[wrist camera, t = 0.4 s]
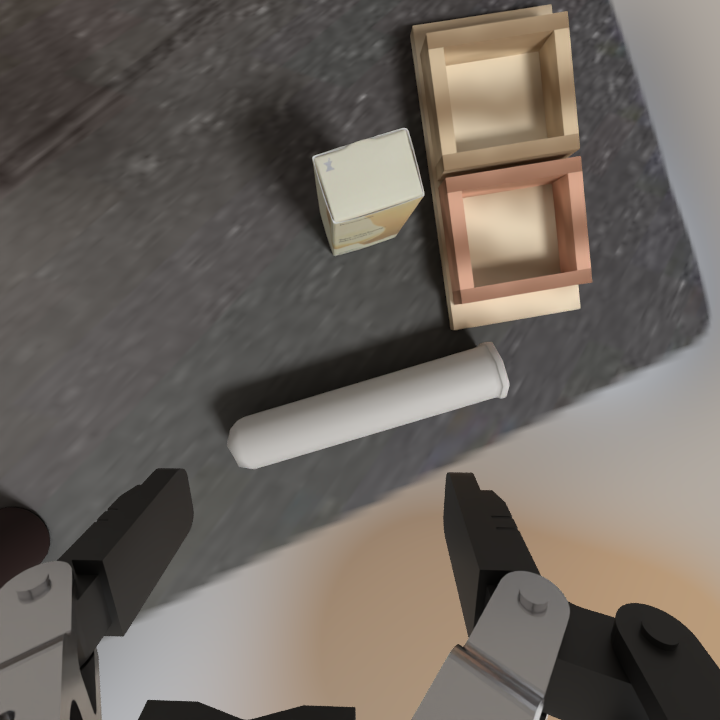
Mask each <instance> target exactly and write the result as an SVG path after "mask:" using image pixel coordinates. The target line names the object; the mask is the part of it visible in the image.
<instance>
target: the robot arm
mask: <svg viewBox="0 0 720 720" xmlns="http://www.w3.org/2000/svg"><path fill="white" fill-rule="evenodd" d="M193 516H194V511H193V504H192V499H191V493H190V487H189V481H188V476H187V472H186V471H185V470H184V469H173V468H158V469H156V470H155V471H154V472H153V473H152V474H151V475H150V476H149V477H148V478H147V479H146V480H145V481H144V483H143V484H142V485H137V486H135V487H134V488H132V489H131V490H129V491H127V492H126V493H124V494H123V495H121V496H120V497H119V498H118V499H117V500H116V501H115V502H114V503H113V504H112V505H111V506H110V507H109V508H108V511H105V512H104V513H103V514H102V515H101V516H100V517H99V518H98V519H97V522H94V523H93V524H92V525H91V526H90V527H89V528H88V529H87V530H86V532H85V533H84V534H83V535H82V536H81V537H80V538H79V539H78V540H77V541H76V542H75V543H74V544H73V545H72V546H71V547H70V548H69V549H68V550H67V551H66V552H65V553H64V554H63V555H62V556H61V557H60V558H59V559H58V560H57V561H52V562H46V563H42V564H39V565H36V566H34V567H31V568H29V569H27V570H25V571H23V572H22V573H20V574H18V575H17V576H15V577H14V578H12V579H11V580H10V581H8V582H7V583H6V584H5V585H4V586H3V587H2V588H1V589H0V720H102V715H101V697H100V676H99V657H98V652H97V648H96V647H97V645H98V644H99V642H100V641H101V639H102V638H103V636H124V635H125V633H126V632H127V630H128V629H129V627H130V625H131V624H132V622H133V621H134V619H135V617H136V616H137V614H138V613H139V611H140V609H141V608H142V606H143V605H144V603H145V601H146V600H147V598H148V597H149V595H150V593H151V592H152V590H153V589H154V587H155V586H156V584H157V582H158V581H159V579H160V578H161V576H162V574H163V573H164V571H165V570H166V568H167V566H168V565H169V563H170V562H171V560H172V558H173V557H174V555H175V554H176V552H177V550H178V549H179V547H180V546H181V544H182V542H183V541H184V539H185V538H186V536H187V534H188V533H189V531H190V529H191V526H192V522H193ZM443 519H444V533H445V539H446V543H447V547H448V551H449V556H450V560H451V564H452V569H453V573H454V577H455V581H456V586H457V590H458V594H459V599H460V603H461V607H462V612H463V616H464V620H465V624H466V629H467V633H468V637H469V639H468V641H467V642H466V644H465V645H464V646H463V647H462V646H461V645H459V644H458V645H456V646H455V647H454V648H453V649H452V651H451V652H450V654H449V655H448V657H447V659H446V660H445V662H444V664H443V666H442V667H441V669H440V671H439V673H438V674H437V676H436V678H435V679H434V681H433V683H432V685H431V687H430V688H429V690H428V692H427V693H426V695H425V697H424V699H423V701H422V702H421V704H420V706H419V707H418V709H417V711H416V713H415V714H414V716H413V718H412V720H547V717H548V715H551V716H553V717H556V718H558V719H561V720H720V669H719V667H718V666H717V665H716V663H715V662H714V661H713V659H712V658H711V657H710V655H709V654H708V653H707V651H706V650H705V648H704V647H703V646H702V644H701V643H700V642H699V640H698V639H697V638H696V637H695V635H694V634H693V633H692V632H691V631H690V630H689V629H688V628H687V627H686V626H684V625H683V624H682V623H681V622H680V621H678V620H677V619H676V618H674V617H673V616H671V615H669V614H667V613H666V612H664V611H662V610H660V609H657V608H655V607H652V606H649V605H645V604H639V603H630V604H626V605H623V606H621V607H620V608H619V609H618V611H617V613H616V617H615V618H614V617H611V616H608V615H604V614H601V613H598V612H594V611H591V610H588V609H584V608H581V607H579V606H576V605H574V604H572V603H570V602H568V601H567V600H566V597H565V596H564V594H563V593H562V592H561V591H560V590H559V588H558V587H557V586H555V585H554V584H553V583H552V582H550V581H549V580H547V579H546V578H544V577H542V576H541V575H540V573H539V571H538V569H537V567H536V565H535V562H534V561H533V559H532V556H531V554H530V552H529V551H528V548H527V546H526V544H525V542H524V540H523V538H522V536H521V534H520V532H519V531H518V529H517V526H516V524H515V522H514V520H513V519H512V515H511V513H510V511H509V510H508V507H507V506H506V503H505V502H504V501H503V500H502V499H501V498H500V497H499V496H498V495H496V494H495V493H494V492H493V491H492V490H480V488H479V486H478V483H477V481H476V478H475V476H474V474H473V473H454V472H449V473H447V475H446V485H445V501H444V516H443ZM355 716H356V714H355V707H333V706H305V705H304V706H300V707H296V708H292V709H289V710H285V711H281V712H277V713H273V714H270V715H266V716H262V717H259V718H255V719H251V720H356V717H355ZM138 720H243V719H240V718H238V717H235V716H233V715H230V714H228V713H225V712H223V711H220V710H217V709H215V708H212V707H210V706H207V705H205V704H202V703H200V702H192V701H189V702H188V701H164V700H163V701H161V700H147V702H146V704H145V707H144V709H143V711H142V713H141V715H140V717H139V719H138Z"/></svg>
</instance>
